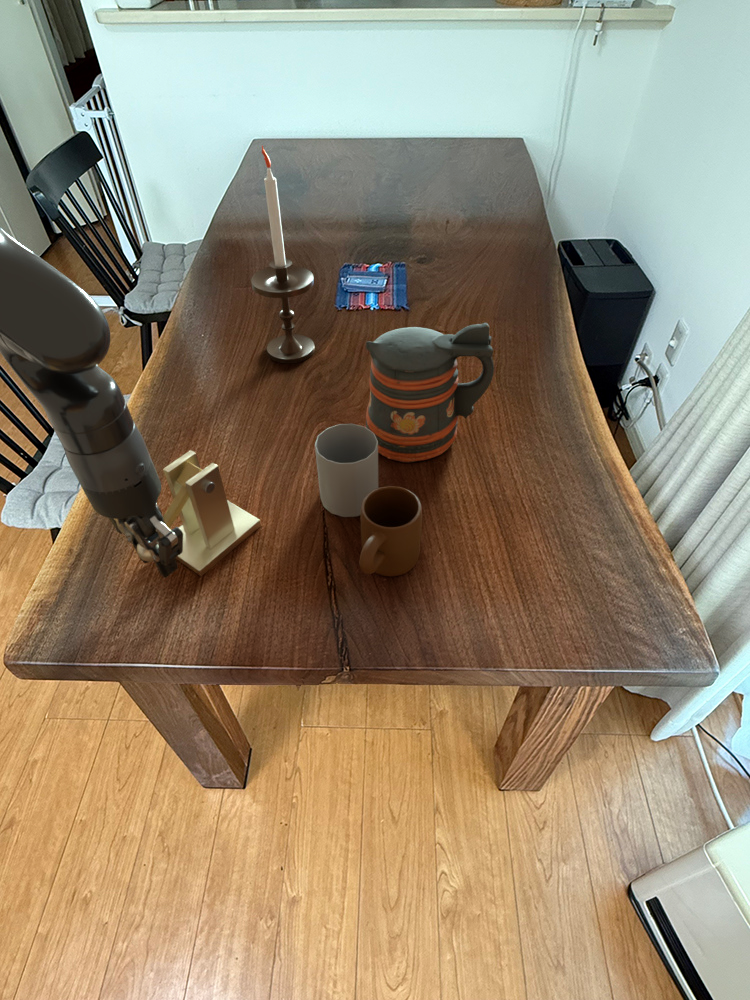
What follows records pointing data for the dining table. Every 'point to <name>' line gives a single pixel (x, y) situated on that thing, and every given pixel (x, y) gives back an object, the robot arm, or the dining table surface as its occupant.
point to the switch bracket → (207, 516)
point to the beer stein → (423, 388)
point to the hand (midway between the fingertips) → (159, 564)
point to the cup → (346, 467)
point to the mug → (390, 531)
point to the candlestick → (282, 283)
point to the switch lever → (173, 506)
